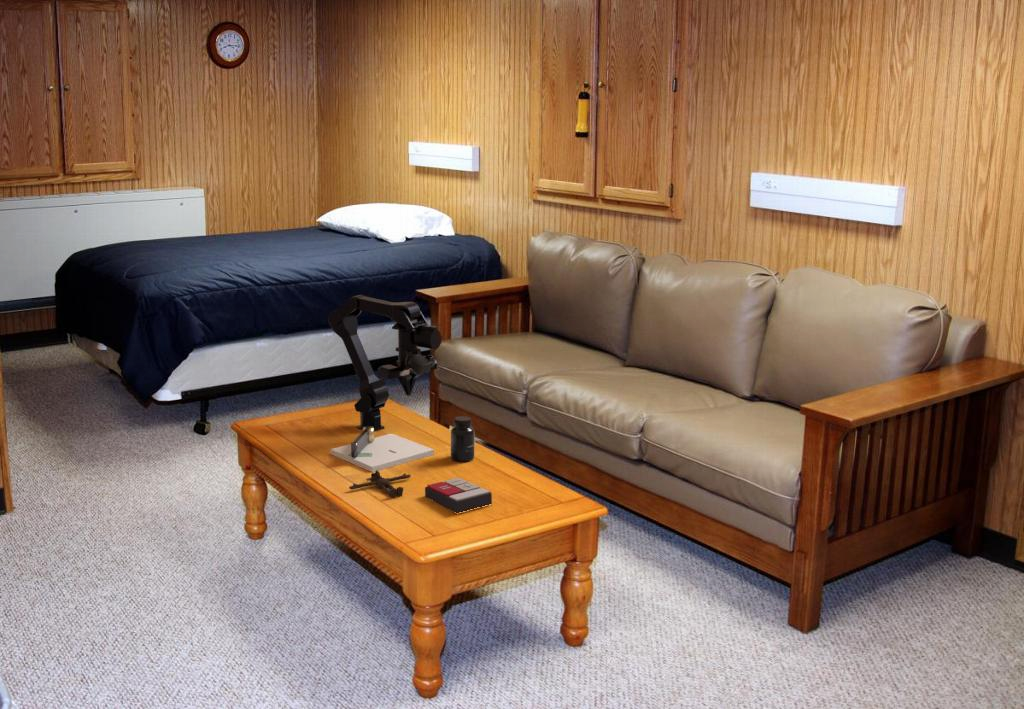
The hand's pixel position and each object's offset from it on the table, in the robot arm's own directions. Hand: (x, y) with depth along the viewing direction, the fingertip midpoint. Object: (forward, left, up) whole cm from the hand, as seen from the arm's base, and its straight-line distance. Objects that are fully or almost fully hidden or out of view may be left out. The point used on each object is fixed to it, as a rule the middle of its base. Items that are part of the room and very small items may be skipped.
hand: (408, 395), depth 325 cm
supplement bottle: (+26, -1, -13) cm, 29 cm away
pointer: (+4, -20, -11) cm, 23 cm away
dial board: (+8, -16, -13) cm, 22 cm away
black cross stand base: (+30, -32, -14) cm, 46 cm away
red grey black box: (+49, -23, -14) cm, 56 cm away
